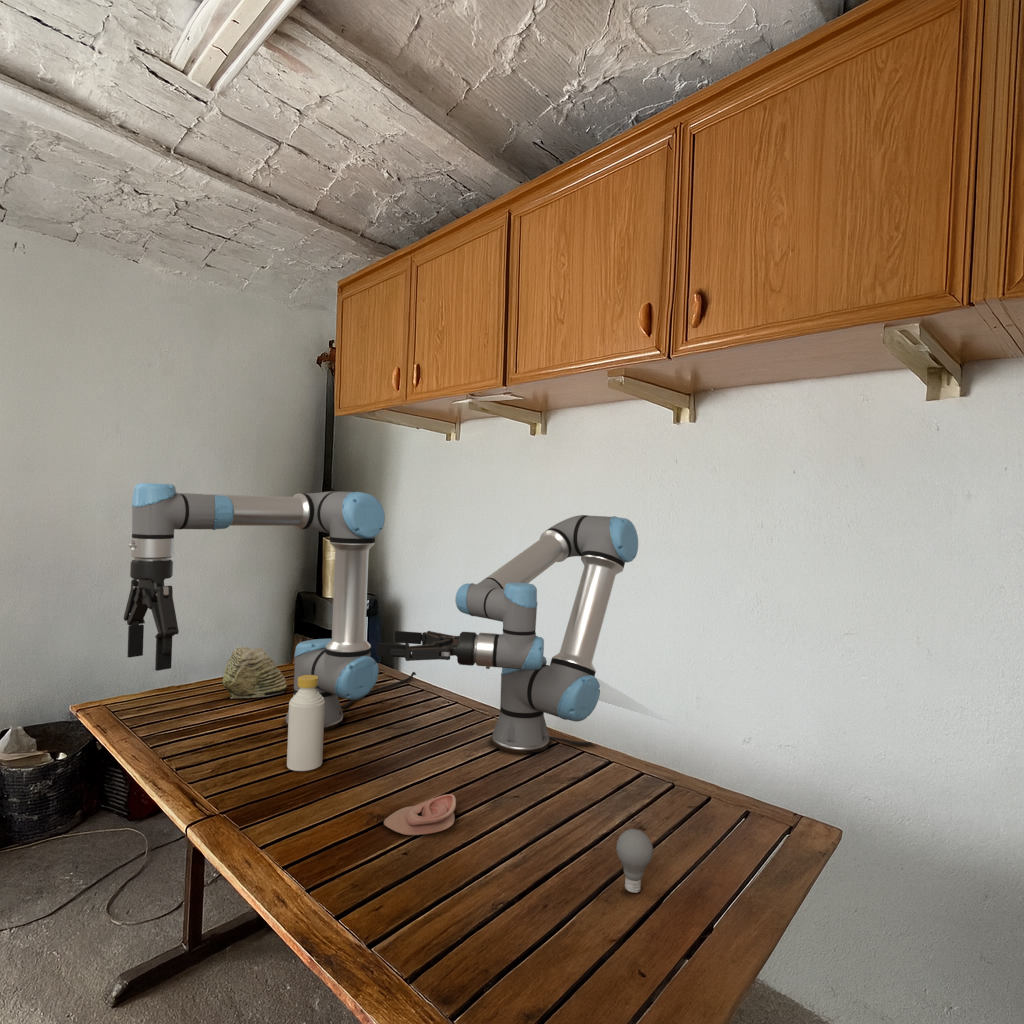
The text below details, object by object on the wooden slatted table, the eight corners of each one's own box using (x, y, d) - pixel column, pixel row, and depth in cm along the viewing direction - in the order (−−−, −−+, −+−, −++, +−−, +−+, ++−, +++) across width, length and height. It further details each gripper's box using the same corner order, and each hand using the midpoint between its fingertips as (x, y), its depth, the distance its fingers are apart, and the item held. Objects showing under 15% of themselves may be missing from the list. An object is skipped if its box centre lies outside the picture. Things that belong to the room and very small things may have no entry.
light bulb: (610, 879, 108) (613, 822, 108) (644, 879, 109) (647, 822, 109) (619, 902, 102) (622, 840, 102) (655, 901, 103) (658, 840, 103)
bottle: (279, 766, 148) (282, 680, 147) (303, 754, 155) (306, 672, 154) (306, 773, 144) (309, 686, 144) (329, 761, 152) (332, 677, 151)
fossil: (218, 695, 195) (220, 647, 195) (278, 685, 208) (279, 640, 207) (228, 703, 189) (230, 653, 188) (289, 692, 201) (290, 645, 201)
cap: (293, 686, 148) (293, 678, 148) (306, 681, 152) (307, 673, 152) (308, 689, 146) (308, 681, 146) (322, 684, 150) (322, 676, 150)
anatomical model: (377, 810, 121) (400, 784, 132) (376, 830, 121) (399, 803, 132) (444, 820, 118) (461, 792, 129) (443, 841, 118) (460, 812, 129)
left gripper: (108, 554, 134) (104, 654, 134) (159, 565, 118) (155, 678, 119) (146, 552, 140) (143, 648, 140) (199, 563, 124) (195, 671, 124)
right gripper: (465, 680, 133) (368, 672, 135) (483, 652, 158) (400, 646, 160) (467, 644, 133) (369, 637, 135) (485, 623, 158) (402, 617, 160)
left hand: (148, 662), depth 129 cm, fingers open, 13 cm apart
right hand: (386, 642), depth 148 cm, fingers open, 13 cm apart
